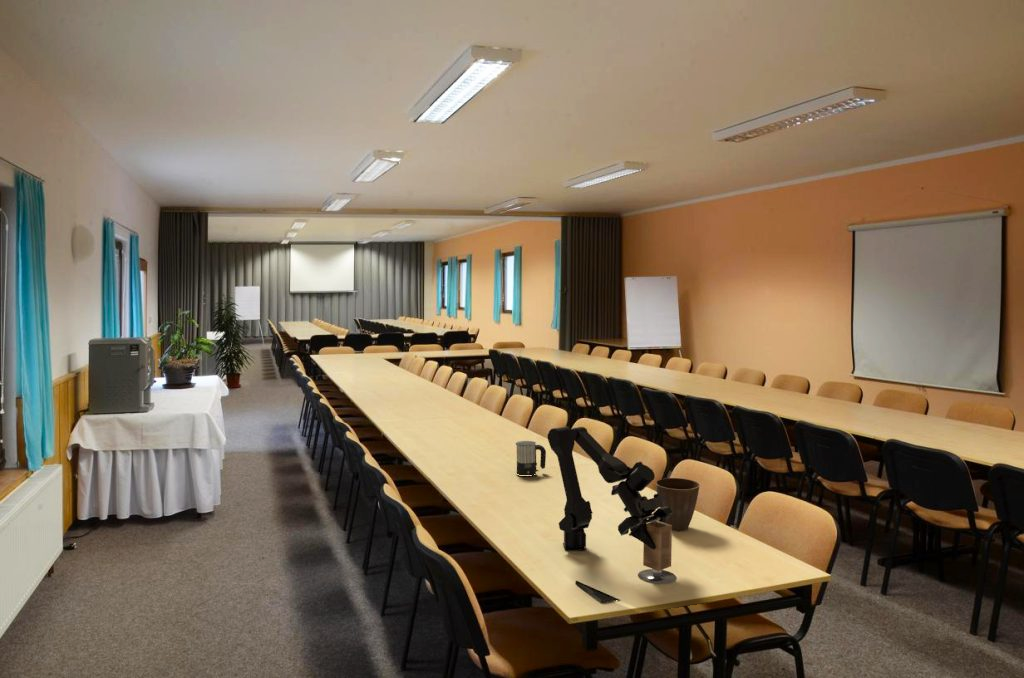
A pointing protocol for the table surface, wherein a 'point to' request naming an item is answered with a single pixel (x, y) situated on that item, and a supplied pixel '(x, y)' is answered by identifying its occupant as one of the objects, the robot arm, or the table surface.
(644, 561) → the walnut sleeve
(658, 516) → the robot arm
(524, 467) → the milk frother
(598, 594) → the phone
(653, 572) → the peg stand
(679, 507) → the plant pot
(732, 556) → the table surface
